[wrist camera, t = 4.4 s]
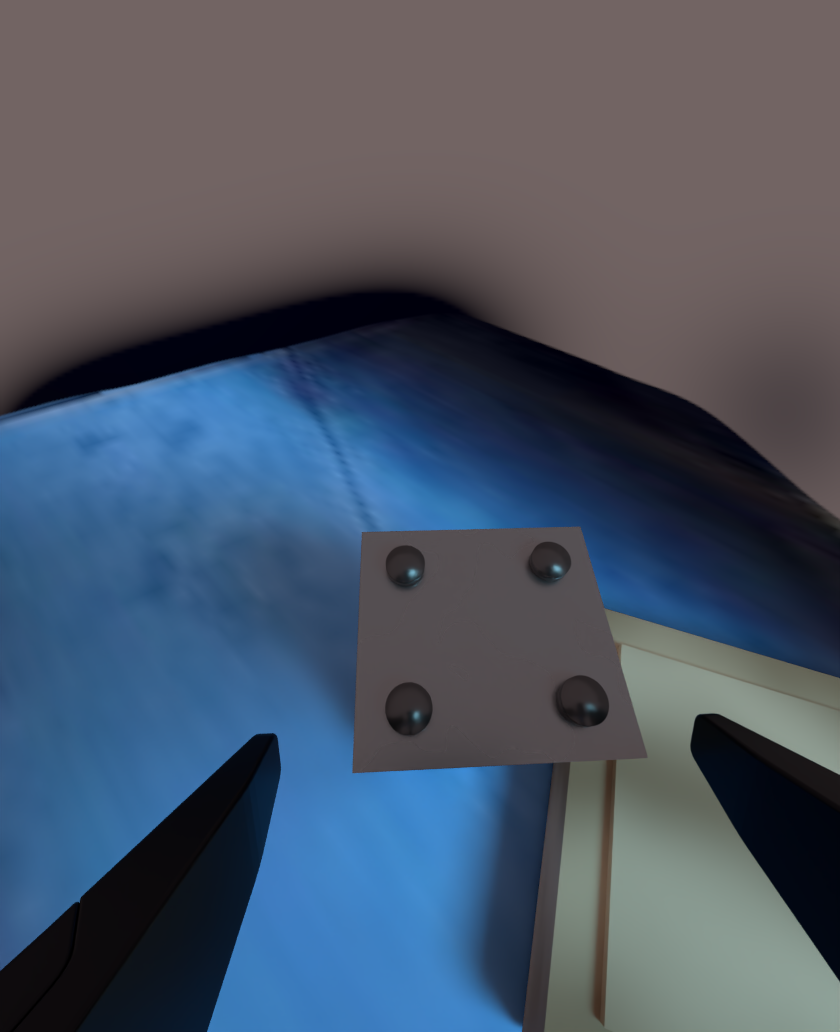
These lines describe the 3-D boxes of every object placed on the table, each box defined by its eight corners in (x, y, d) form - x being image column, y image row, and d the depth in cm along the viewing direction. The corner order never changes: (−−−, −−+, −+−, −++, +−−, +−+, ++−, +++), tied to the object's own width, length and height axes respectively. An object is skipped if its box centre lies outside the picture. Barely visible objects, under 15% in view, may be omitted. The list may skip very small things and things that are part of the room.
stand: (1043, 1272, 10) (1189, 1389, 9) (521, 1034, 12) (542, 1085, 10) (887, 712, 18) (947, 706, 16) (570, 616, 20) (588, 600, 18)
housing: (517, 759, 16) (656, 757, 7) (383, 765, 16) (350, 773, 7) (499, 636, 19) (584, 520, 10) (384, 641, 19) (360, 525, 10)
